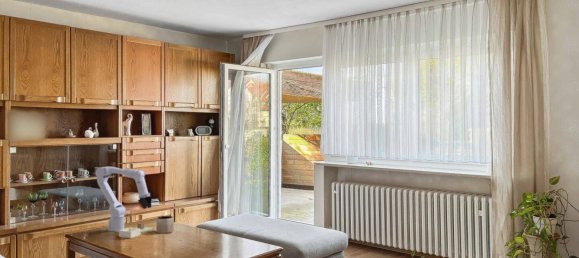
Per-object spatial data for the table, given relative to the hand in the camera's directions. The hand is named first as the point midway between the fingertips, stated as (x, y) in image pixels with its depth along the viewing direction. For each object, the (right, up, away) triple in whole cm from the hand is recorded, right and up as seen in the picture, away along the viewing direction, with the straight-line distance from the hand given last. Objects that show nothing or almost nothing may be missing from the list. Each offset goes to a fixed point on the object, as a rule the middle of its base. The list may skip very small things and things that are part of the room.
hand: (147, 208), depth 293 cm
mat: (-5, -15, +2) cm, 16 cm away
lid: (-5, -15, +2) cm, 16 cm away
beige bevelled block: (-7, -16, -13) cm, 21 cm away
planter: (+12, -16, -1) cm, 20 cm away
